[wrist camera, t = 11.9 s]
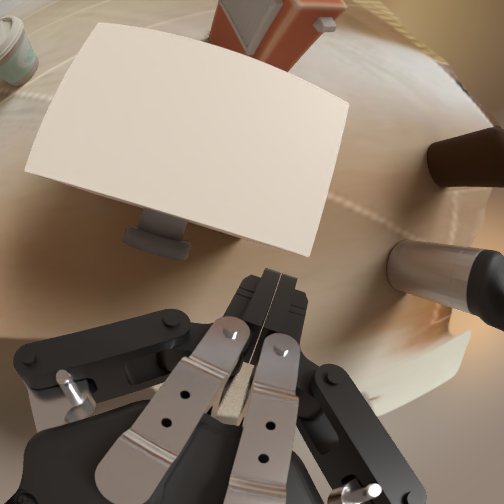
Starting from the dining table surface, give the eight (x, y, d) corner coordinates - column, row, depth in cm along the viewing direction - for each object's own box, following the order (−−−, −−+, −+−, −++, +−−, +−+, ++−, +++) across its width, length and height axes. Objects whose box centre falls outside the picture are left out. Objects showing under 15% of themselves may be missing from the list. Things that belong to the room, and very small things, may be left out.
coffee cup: (38, 87, 27) (4, 52, 16) (-2, 98, 25) (-38, 71, 14) (51, 44, 26) (27, 4, 15) (12, 56, 24) (-17, 23, 13)
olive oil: (422, 178, 46) (536, 169, 22) (426, 131, 45) (528, 107, 21) (451, 197, 49) (550, 196, 25) (454, 152, 48) (546, 140, 24)
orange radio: (241, 25, 34) (278, 98, 37) (199, 32, 33) (234, 110, 36) (289, -69, 14) (361, 18, 17) (227, -71, 12) (295, 17, 15)
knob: (211, 173, 29) (221, 161, 23) (186, 255, 30) (188, 264, 23) (155, 156, 28) (150, 139, 21) (129, 238, 28) (116, 242, 22)
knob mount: (267, 155, 38) (349, 103, 18) (241, 238, 38) (309, 257, 19) (130, 111, 32) (99, 22, 13) (98, 195, 32) (24, 171, 13)
